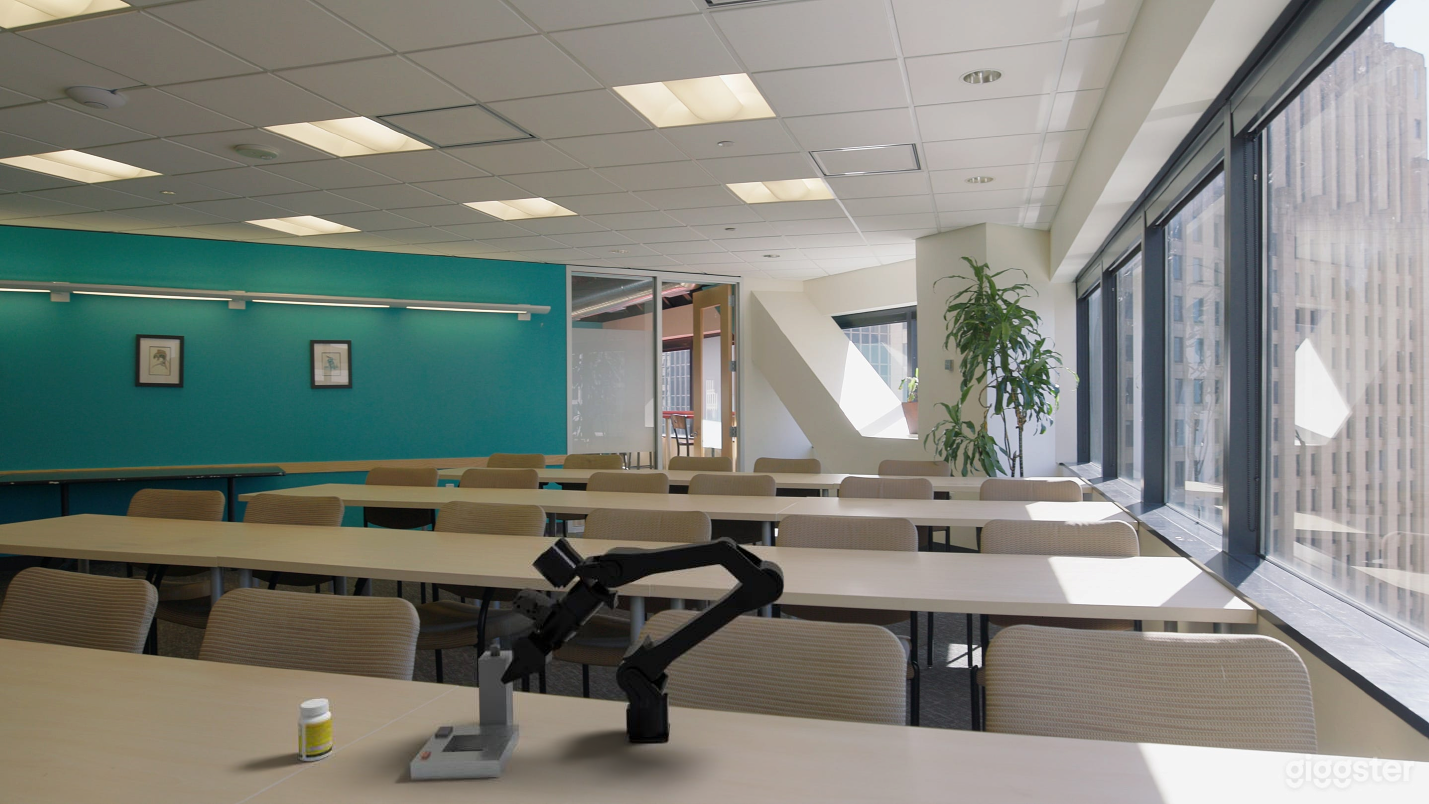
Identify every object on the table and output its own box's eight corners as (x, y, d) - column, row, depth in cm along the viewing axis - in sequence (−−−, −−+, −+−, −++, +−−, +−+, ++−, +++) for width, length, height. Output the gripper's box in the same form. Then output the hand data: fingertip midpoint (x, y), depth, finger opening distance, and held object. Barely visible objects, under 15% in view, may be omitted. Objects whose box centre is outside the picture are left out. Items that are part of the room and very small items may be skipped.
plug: (513, 726, 136) (511, 641, 136) (507, 737, 132) (505, 649, 132) (487, 727, 136) (485, 642, 136) (479, 738, 132) (478, 650, 132)
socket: (519, 739, 130) (518, 722, 130) (499, 777, 117) (498, 757, 117) (439, 742, 130) (439, 724, 130) (410, 779, 117) (410, 760, 117)
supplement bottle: (339, 751, 128) (337, 699, 128) (315, 764, 123) (314, 710, 123) (315, 747, 129) (314, 696, 129) (291, 760, 125) (290, 706, 125)
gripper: (558, 562, 142) (500, 622, 143) (522, 586, 124) (456, 655, 125) (602, 606, 142) (543, 667, 143) (572, 637, 123) (505, 706, 124)
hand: (512, 672), depth 134 cm, fingers open, 9 cm apart
